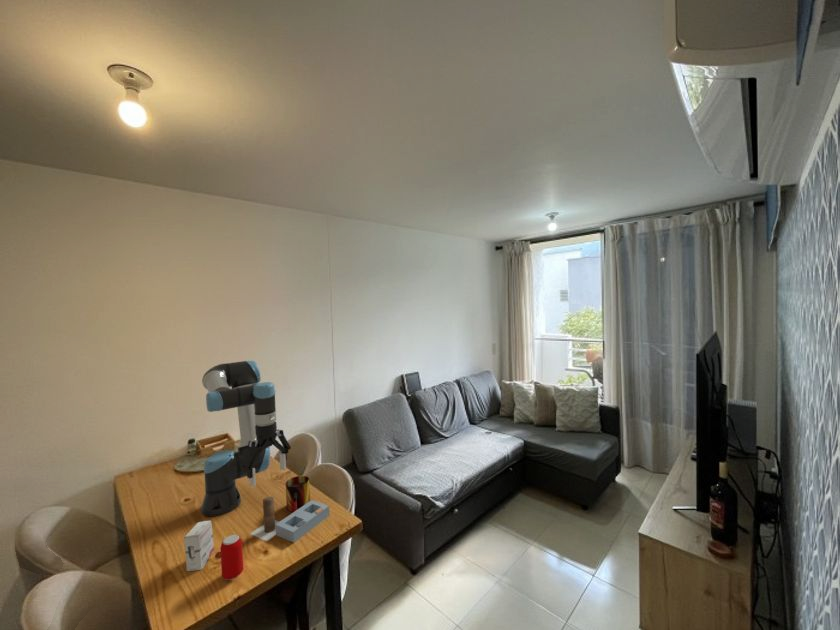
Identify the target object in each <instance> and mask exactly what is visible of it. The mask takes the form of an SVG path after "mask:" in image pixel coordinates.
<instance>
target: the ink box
mask: <svg viewBox="0 0 840 630" xmlns="http://www.w3.org/2000/svg"><path fill="white" fill-rule="evenodd" d="M213 537H214V536H213V525H212V520H205V521H199V522H197V523H196V524H195V525H194V526H193V527H192V529H190V531H189V532H188V533H187V534H185V536H183V540H184V541H183V542H184V549H185V553H184V554H185V563H186V572H195V571H201V570H202V569H203V568H204V567H205V565H206V564H207V563H208V562H209V558H210V556H211V555H212V553H214V550H215V547H214V538H213Z"/></svg>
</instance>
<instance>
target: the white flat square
mask: <svg viewBox="0 0 840 630" xmlns="http://www.w3.org/2000/svg"><path fill="white" fill-rule="evenodd" d="M278 522H280V521H279V520H276V519H275V524H277V523H278ZM249 534H250V535H251V536H253V537H256V538H258V539H260V540H263V541H264V542H268V541H270V540H271V539H273V538H274V537H276V536H277V535H276V525H275V530H274V531H272V532H270V533H265V531H264V524H263V525H261V526H259V527H258V528H257V529H255V530H253V531H251V532H250V533H249Z"/></svg>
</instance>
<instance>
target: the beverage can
mask: <svg viewBox="0 0 840 630" xmlns="http://www.w3.org/2000/svg"><path fill="white" fill-rule="evenodd" d="M219 550H220V564H221V578H222V579H223V580H225V581H231V580H234V579H236V578H237V577H239V576H240V575H241V574H242V573H243V571H244V555H243V553H244V552H243V538H241V536H239V534H232V535H228V536H227V537H225V538H224V539H223V540H222V542H221V544H220V549H219Z"/></svg>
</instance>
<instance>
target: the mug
mask: <svg viewBox="0 0 840 630" xmlns="http://www.w3.org/2000/svg"><path fill="white" fill-rule="evenodd" d="M285 497H286V499H285V500H286V511H287V512H288V513H290V514H292V513H293V512H295V511H296V510H298V509H299V508H301V507H302V506H304V505H305V504H307V503H308V502H310V501H311V491H310V478H309V476H306V475H297V476H293V477H291V478H289V479H288V480H286V481H285Z"/></svg>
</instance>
